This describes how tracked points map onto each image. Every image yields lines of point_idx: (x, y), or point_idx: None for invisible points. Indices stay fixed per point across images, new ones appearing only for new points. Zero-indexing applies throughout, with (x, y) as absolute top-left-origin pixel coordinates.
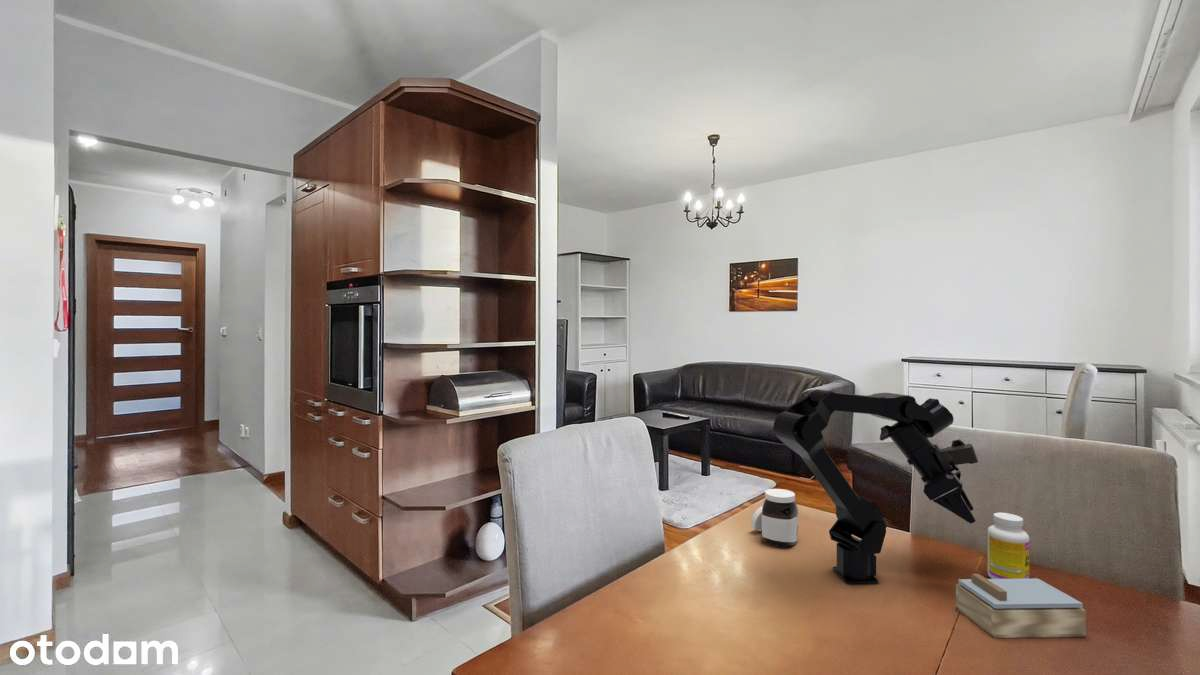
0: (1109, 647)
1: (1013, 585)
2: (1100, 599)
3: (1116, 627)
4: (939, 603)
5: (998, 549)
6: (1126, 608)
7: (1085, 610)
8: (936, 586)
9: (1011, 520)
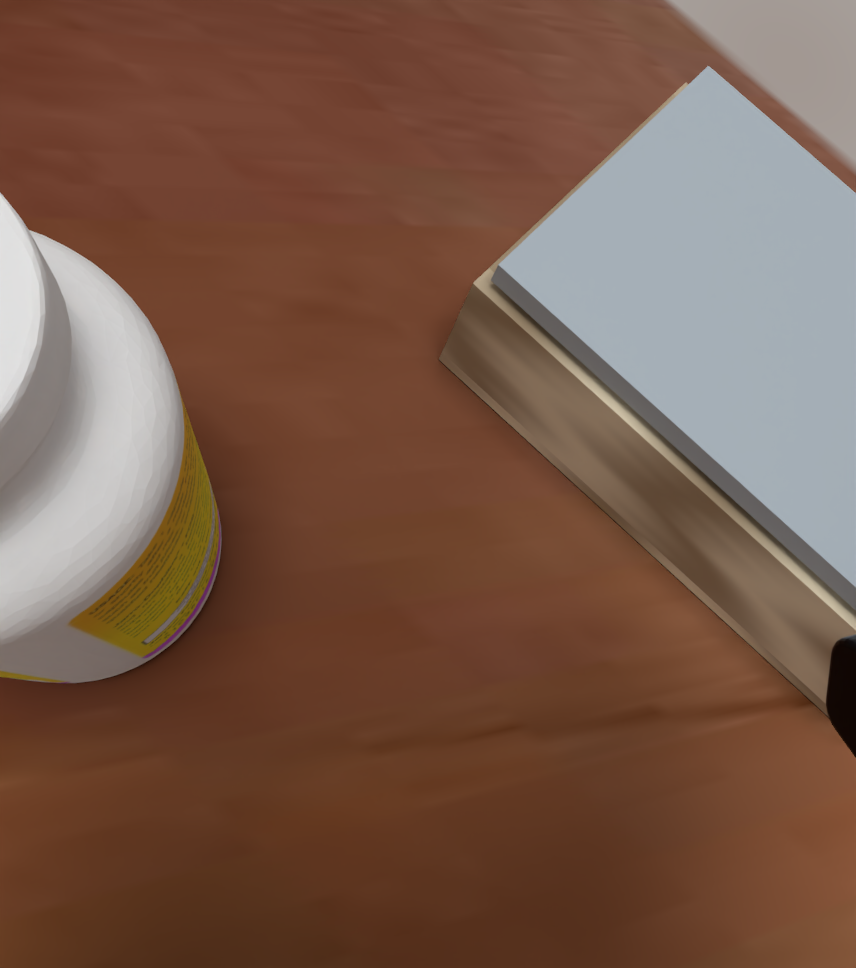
0: (644, 113)
1: (768, 385)
2: (26, 96)
3: (392, 70)
4: (845, 820)
5: (180, 537)
6: (75, 5)
7: (684, 84)
8: (608, 924)
9: (39, 252)
